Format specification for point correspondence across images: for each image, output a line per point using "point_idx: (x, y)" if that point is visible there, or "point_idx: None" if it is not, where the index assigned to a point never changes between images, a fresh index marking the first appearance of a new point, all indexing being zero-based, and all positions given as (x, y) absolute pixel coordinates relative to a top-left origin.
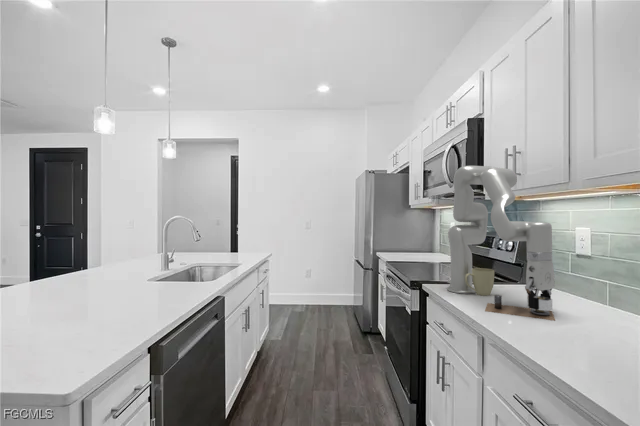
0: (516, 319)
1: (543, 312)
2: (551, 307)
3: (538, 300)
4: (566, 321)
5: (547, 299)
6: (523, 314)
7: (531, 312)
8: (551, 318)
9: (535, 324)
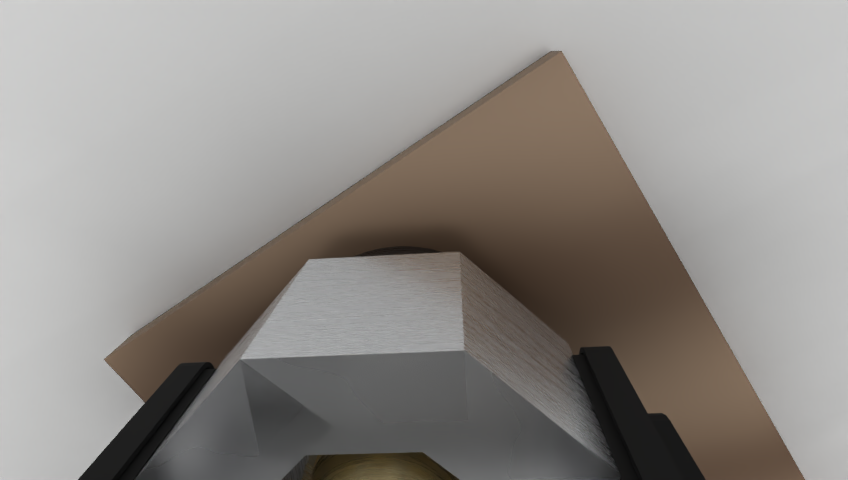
0: (778, 399)
1: None
2: (328, 275)
3: (649, 460)
4: (255, 64)
5: (353, 413)
6: None
7: None
8: (493, 150)
9: (804, 176)
